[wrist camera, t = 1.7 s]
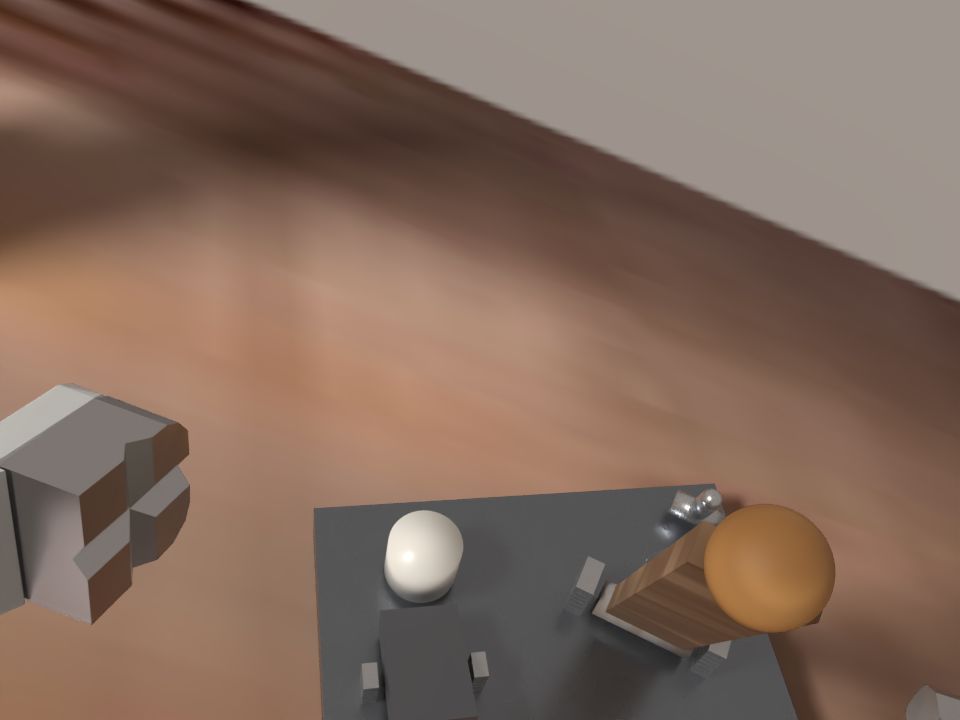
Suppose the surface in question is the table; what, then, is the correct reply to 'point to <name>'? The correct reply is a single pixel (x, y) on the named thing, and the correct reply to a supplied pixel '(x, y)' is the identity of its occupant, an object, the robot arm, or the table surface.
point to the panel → (535, 613)
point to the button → (423, 556)
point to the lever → (726, 582)
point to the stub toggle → (698, 507)
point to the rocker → (425, 664)
